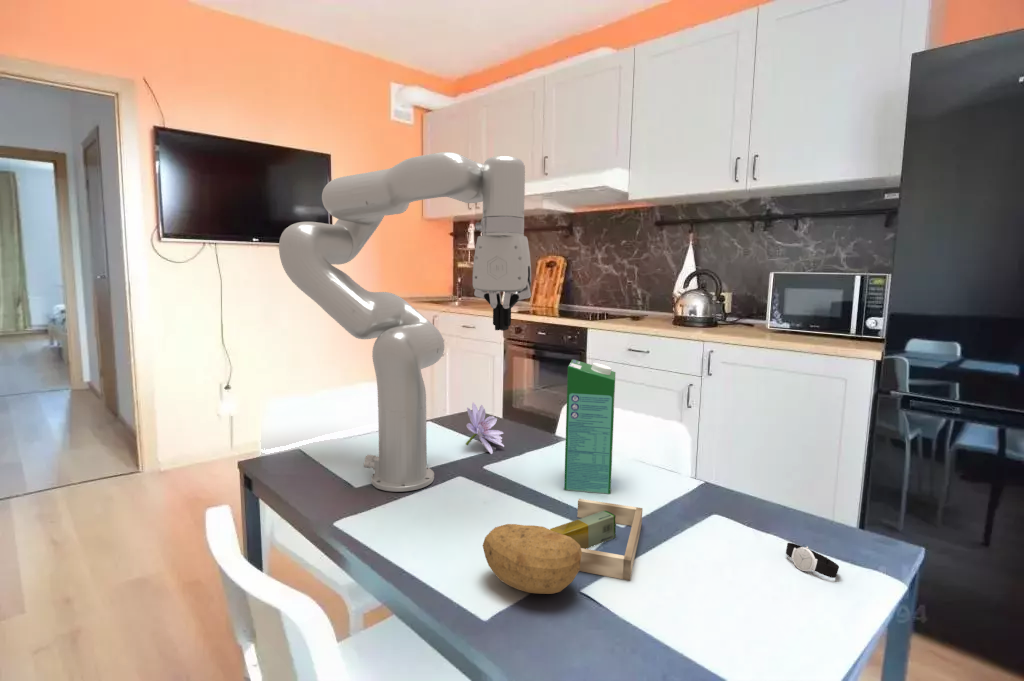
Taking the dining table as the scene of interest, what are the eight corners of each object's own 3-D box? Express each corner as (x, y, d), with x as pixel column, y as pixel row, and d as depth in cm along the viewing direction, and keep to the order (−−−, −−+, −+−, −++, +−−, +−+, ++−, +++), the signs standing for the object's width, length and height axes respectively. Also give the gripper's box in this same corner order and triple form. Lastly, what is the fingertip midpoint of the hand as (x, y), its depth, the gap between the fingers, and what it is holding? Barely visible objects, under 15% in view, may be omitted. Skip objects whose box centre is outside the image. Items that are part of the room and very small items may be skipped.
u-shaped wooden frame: (553, 566, 79) (554, 546, 79) (578, 514, 96) (579, 498, 96) (629, 580, 76) (630, 560, 75) (641, 524, 93) (642, 508, 92)
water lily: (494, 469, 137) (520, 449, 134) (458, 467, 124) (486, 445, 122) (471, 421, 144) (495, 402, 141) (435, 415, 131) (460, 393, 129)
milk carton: (610, 494, 105) (615, 368, 102) (564, 489, 107) (567, 365, 104) (611, 477, 114) (616, 360, 111) (568, 473, 116) (571, 358, 113)
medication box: (605, 532, 90) (605, 509, 90) (616, 538, 88) (617, 514, 88) (548, 552, 84) (548, 527, 83) (560, 559, 81) (560, 534, 81)
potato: (501, 556, 82) (501, 506, 80) (590, 581, 75) (592, 527, 74) (467, 590, 73) (468, 534, 72) (565, 621, 67) (567, 560, 66)
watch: (777, 558, 83) (779, 536, 82) (798, 552, 84) (800, 530, 84) (824, 585, 76) (826, 561, 75) (846, 578, 78) (848, 554, 77)
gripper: (456, 227, 96) (456, 329, 99) (537, 226, 92) (535, 333, 94) (472, 230, 103) (472, 326, 106) (548, 230, 99) (546, 329, 101)
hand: (501, 329), depth 100 cm, fingers closed
